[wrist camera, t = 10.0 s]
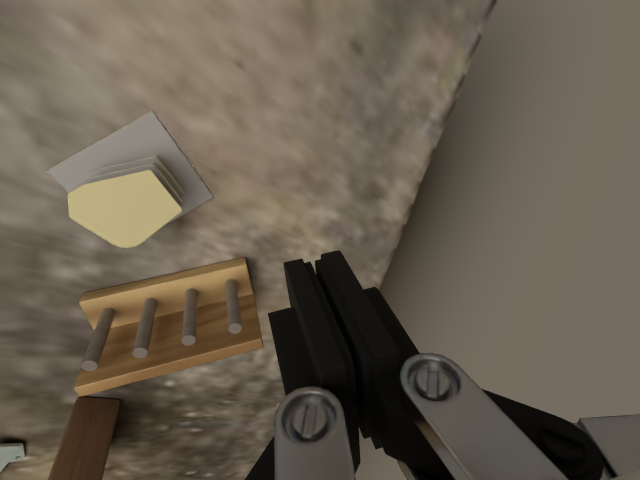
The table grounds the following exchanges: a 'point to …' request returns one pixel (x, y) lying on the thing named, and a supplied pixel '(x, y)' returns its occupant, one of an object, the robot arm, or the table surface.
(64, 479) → the wooden block
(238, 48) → the table surface
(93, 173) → the stacked layers on plate
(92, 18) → the table surface
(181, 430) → the table surface
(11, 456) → the metal bracket
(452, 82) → the table surface
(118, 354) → the peg rack
